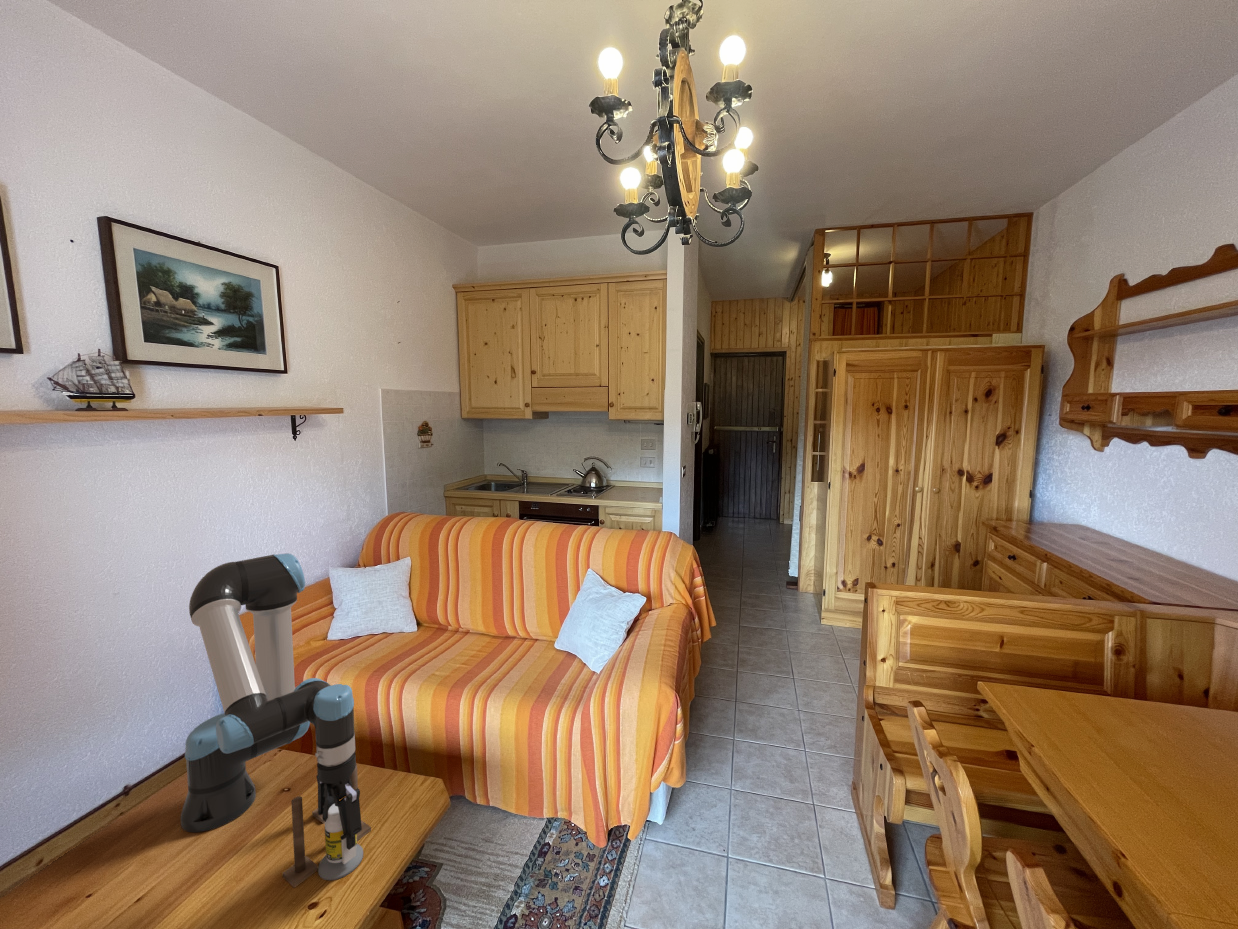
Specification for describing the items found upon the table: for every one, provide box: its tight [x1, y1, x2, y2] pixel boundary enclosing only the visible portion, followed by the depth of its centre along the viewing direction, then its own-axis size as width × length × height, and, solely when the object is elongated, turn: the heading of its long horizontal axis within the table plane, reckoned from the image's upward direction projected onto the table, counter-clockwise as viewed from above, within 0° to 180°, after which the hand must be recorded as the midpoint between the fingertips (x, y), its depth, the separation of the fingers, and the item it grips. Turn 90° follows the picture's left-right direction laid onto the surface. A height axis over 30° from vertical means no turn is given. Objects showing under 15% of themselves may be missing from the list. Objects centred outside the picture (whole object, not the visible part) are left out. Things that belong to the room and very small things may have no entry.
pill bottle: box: [324, 803, 358, 863], centre depth 111 cm, size 6×6×11 cm
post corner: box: [350, 763, 372, 842], centre depth 119 cm, size 5×5×18 cm
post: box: [282, 795, 319, 889], centre depth 108 cm, size 5×5×18 cm
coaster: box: [317, 843, 364, 881], centre depth 111 cm, size 9×9×1 cm
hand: (340, 852), depth 111 cm, fingers closed on pill bottle, 6 cm apart
